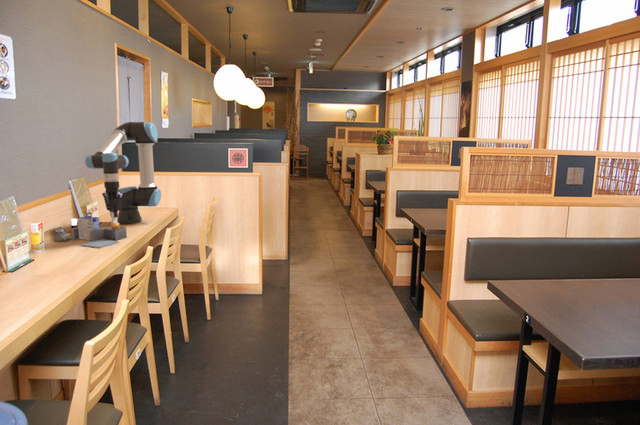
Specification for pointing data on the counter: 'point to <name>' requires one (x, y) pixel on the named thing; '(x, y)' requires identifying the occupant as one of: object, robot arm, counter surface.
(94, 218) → the ink cartridge box
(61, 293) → the counter surface
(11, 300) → the counter surface
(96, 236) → the cartridge holder
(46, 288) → the counter surface
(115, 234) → the block
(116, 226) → the plunger
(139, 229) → the counter surface
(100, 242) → the rubber mat
